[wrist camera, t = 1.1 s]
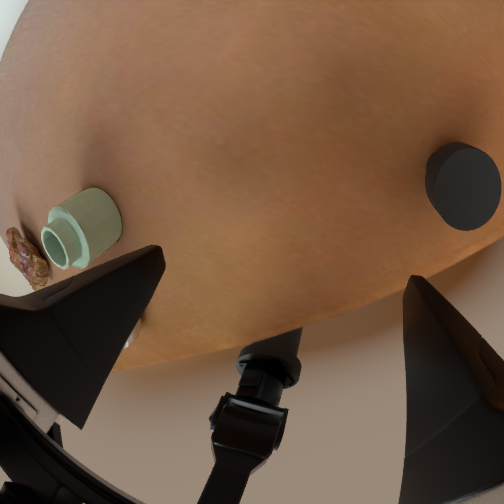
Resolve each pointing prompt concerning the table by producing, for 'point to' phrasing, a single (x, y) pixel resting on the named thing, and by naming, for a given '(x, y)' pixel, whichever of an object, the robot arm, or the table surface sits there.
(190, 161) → the table surface
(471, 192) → the stopper
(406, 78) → the table surface
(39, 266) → the mineral specimen
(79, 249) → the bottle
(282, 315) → the table surface
